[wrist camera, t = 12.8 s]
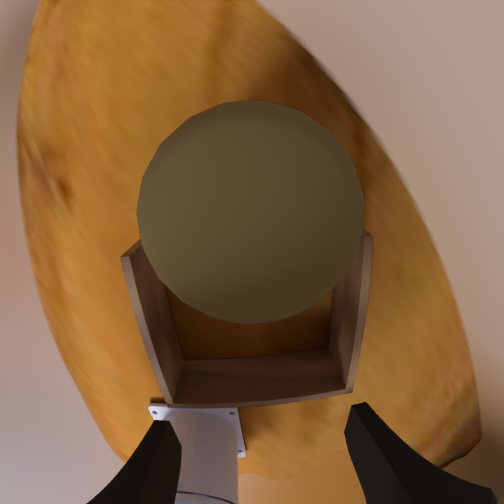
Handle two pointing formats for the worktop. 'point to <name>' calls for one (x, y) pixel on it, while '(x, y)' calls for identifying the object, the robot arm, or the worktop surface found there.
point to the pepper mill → (250, 212)
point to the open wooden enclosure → (252, 368)
